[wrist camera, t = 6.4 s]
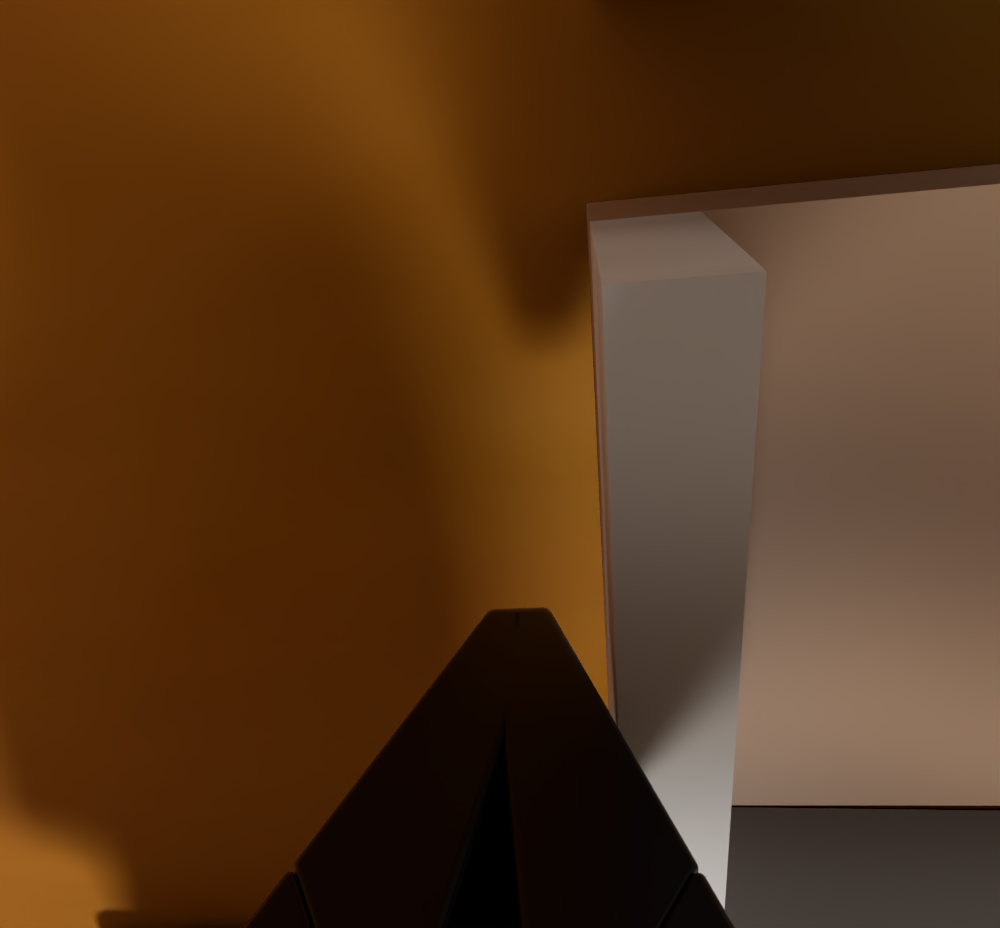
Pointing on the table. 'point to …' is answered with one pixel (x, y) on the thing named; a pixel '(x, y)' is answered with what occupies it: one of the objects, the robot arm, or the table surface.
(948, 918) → the bay
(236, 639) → the table surface
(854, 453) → the l-shaped bracket
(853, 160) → the table surface
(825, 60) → the table surface
